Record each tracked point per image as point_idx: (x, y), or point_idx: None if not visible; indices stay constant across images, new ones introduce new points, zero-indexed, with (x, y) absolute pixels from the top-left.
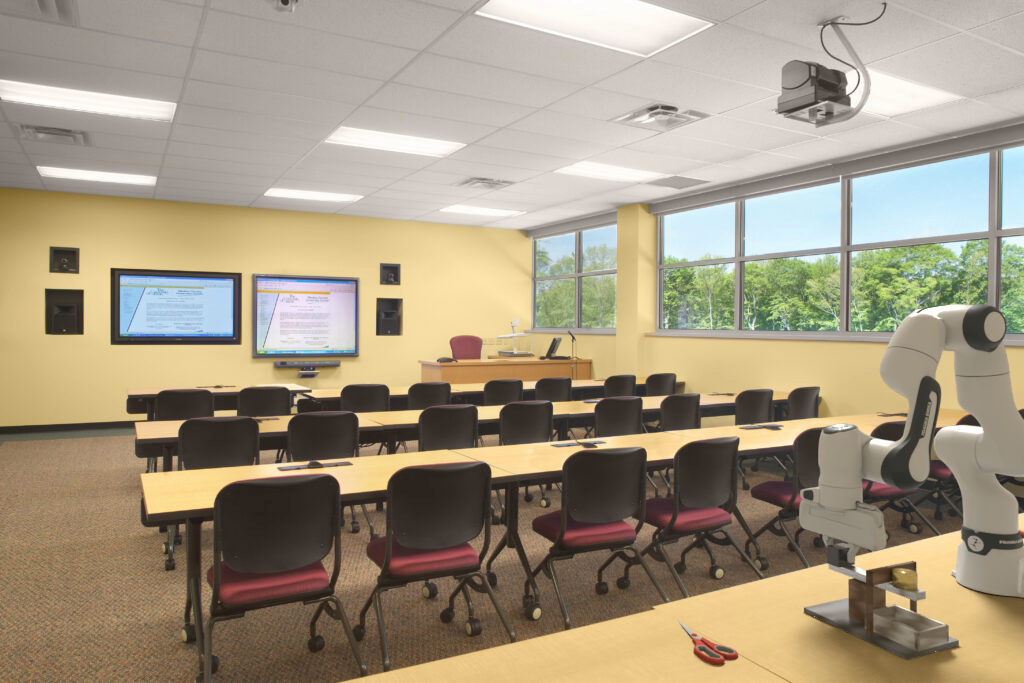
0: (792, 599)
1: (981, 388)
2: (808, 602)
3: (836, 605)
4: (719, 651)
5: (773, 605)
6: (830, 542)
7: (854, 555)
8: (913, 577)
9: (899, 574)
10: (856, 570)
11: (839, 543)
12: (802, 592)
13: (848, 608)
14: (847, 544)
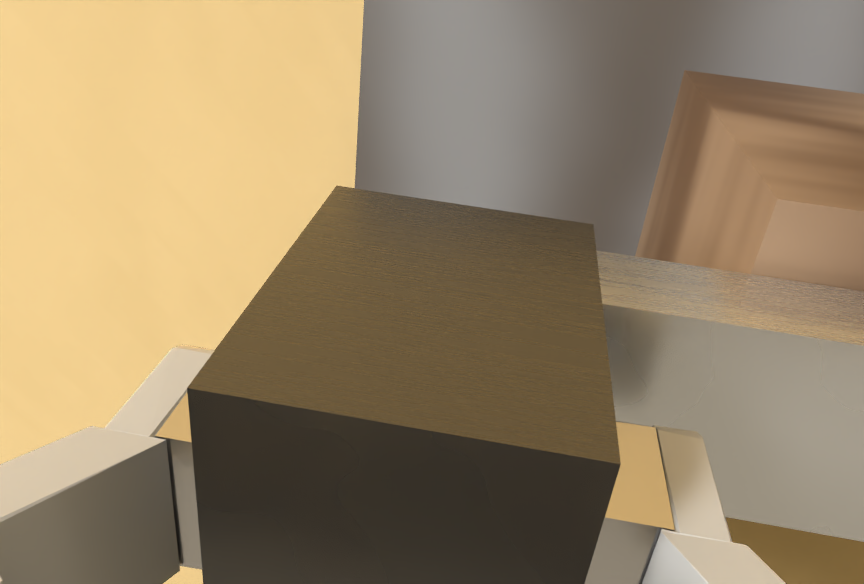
0: (147, 222)
1: None
2: (236, 174)
3: (442, 139)
4: None
5: None
6: (56, 575)
7: (719, 533)
8: None
9: None
10: (768, 468)
11: (208, 517)
12: (45, 17)
13: (540, 112)
14: (369, 438)
